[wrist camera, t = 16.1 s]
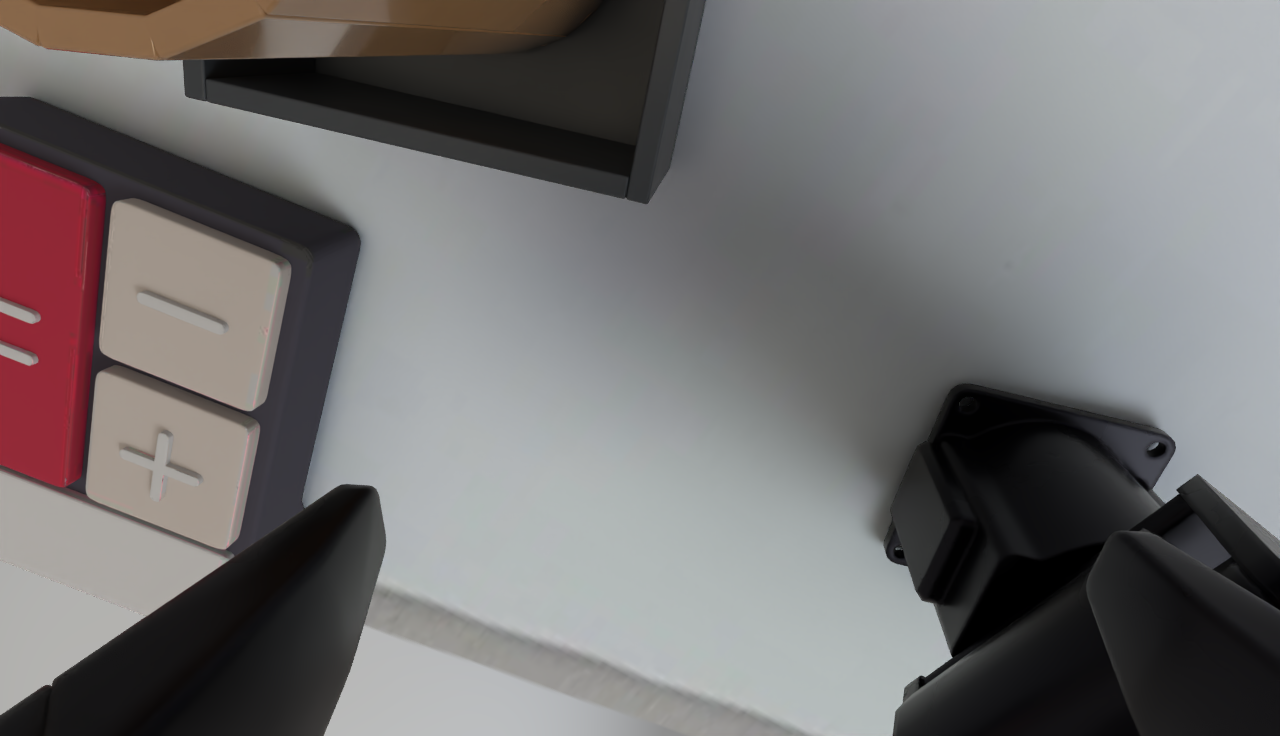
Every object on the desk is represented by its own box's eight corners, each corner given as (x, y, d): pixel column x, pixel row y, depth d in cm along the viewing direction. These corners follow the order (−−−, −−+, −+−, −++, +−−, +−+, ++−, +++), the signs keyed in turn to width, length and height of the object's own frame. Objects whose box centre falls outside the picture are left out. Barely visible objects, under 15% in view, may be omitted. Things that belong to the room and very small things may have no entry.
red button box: (299, 257, 18) (217, 667, 24) (375, 227, 22) (289, 585, 28) (-113, 91, 18) (-100, 547, 24) (39, 90, 22) (19, 481, 28)
